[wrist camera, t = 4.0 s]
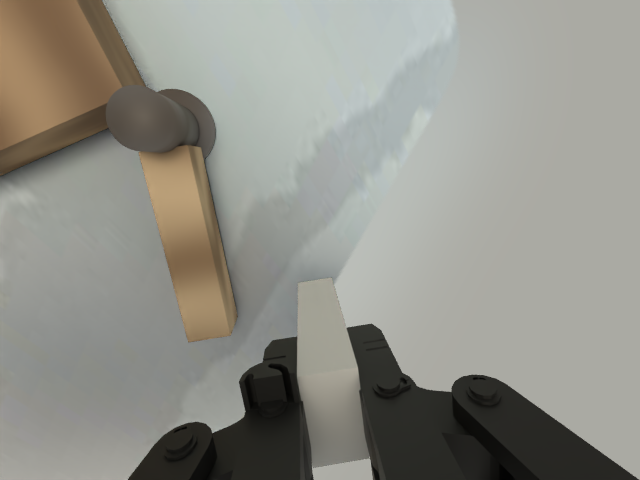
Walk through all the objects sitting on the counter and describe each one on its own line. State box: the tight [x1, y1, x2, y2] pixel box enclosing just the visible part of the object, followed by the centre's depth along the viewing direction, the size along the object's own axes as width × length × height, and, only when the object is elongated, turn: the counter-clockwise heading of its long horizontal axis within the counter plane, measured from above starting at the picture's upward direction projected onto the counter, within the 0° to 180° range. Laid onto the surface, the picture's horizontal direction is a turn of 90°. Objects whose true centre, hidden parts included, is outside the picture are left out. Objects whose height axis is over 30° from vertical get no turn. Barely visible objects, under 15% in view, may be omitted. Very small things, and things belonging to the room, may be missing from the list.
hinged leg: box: [106, 85, 238, 342], centre depth 18 cm, size 14×3×4 cm, turn 8°
